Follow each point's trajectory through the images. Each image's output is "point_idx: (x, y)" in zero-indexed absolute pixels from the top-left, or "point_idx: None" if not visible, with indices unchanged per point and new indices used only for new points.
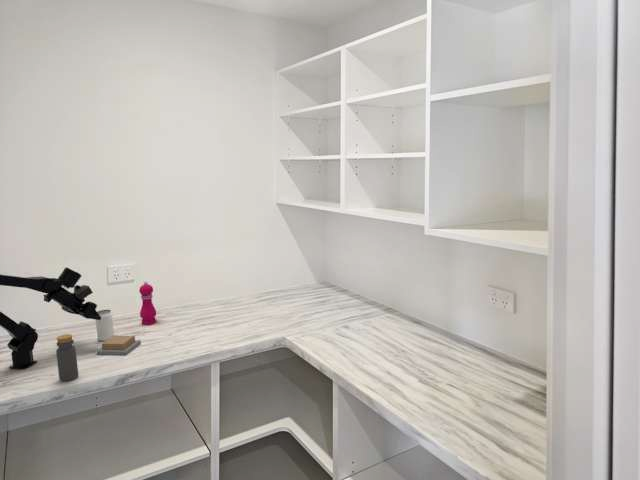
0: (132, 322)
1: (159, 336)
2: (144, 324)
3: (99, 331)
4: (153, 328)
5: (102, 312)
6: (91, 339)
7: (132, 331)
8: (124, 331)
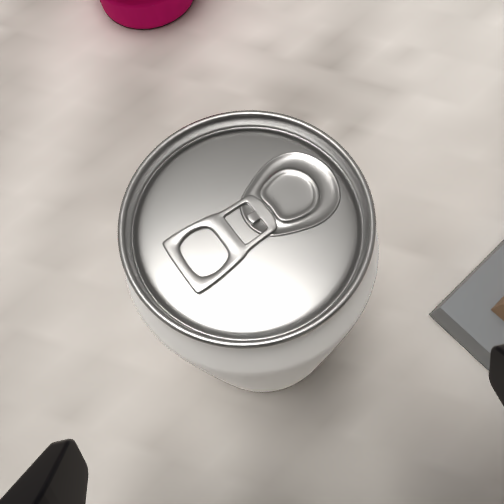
0: (41, 61)
1: (495, 29)
2: (169, 21)
3: (305, 375)
4: (292, 8)
5: (240, 237)
6: (178, 428)
7: None
8: None
